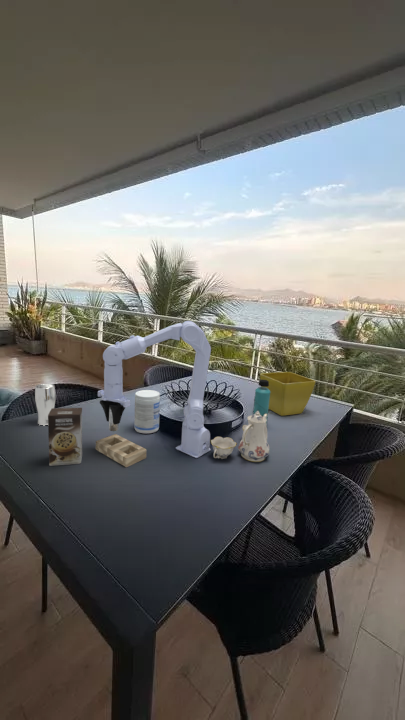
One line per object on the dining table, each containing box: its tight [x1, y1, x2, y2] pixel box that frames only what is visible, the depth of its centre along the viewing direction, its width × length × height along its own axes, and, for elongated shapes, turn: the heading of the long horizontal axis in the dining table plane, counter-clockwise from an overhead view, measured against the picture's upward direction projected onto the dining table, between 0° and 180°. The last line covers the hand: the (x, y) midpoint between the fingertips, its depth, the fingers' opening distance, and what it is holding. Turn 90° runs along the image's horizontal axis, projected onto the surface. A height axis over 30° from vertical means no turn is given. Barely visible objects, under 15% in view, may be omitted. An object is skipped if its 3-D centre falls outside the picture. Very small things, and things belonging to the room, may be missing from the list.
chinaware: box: [210, 411, 271, 463], centre depth 110 cm, size 28×17×17 cm, turn 141°
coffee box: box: [47, 407, 83, 467], centre depth 98 cm, size 9×6×16 cm
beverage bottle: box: [252, 379, 270, 425], centre depth 133 cm, size 6×7×20 cm
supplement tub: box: [133, 389, 161, 435], centre depth 124 cm, size 10×10×15 cm
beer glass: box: [34, 383, 56, 427], centre depth 124 cm, size 7×7×15 cm
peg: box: [108, 407, 119, 432], centre depth 106 cm, size 3×3×8 cm
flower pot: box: [259, 371, 316, 417], centre depth 154 cm, size 19×19×17 cm
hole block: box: [95, 433, 147, 468], centre depth 105 cm, size 16×8×3 cm, turn 52°
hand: (113, 422), depth 106 cm, fingers closed on peg, 3 cm apart
